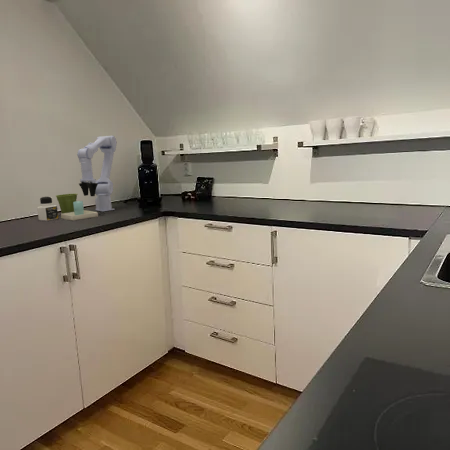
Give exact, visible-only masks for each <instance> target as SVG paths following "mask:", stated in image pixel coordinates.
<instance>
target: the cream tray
mask: <svg viewBox="0 0 450 450" xmlns="http://www.w3.org/2000/svg"><path fill="white" fill-rule="evenodd" d="M98 212H99V211H92V210H84V214H81V215H75V213H74V212H70V213H64V214H62V213H60V219H61V220H66V221H72V222H73V221H80V220H86V219H93V218H98V217H99V213H98Z"/></svg>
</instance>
